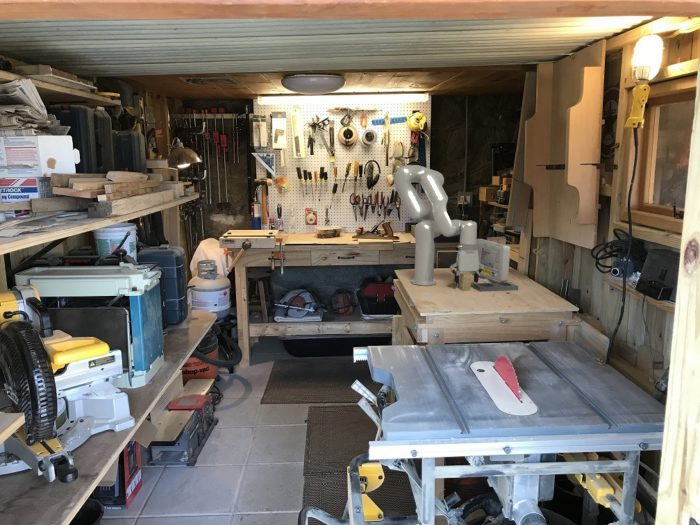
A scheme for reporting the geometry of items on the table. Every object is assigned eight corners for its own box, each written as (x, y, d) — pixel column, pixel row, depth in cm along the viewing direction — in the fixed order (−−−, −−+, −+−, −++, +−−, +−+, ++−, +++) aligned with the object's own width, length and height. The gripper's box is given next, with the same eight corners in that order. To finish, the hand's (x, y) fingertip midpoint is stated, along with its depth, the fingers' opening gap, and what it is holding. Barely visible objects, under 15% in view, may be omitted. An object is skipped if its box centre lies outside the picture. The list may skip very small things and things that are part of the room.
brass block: (459, 289, 264) (460, 272, 262) (466, 288, 265) (467, 272, 263) (462, 291, 260) (463, 274, 258) (470, 290, 261) (471, 274, 259)
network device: (510, 285, 273) (514, 246, 269) (496, 286, 270) (499, 246, 266) (480, 274, 297) (483, 238, 293) (467, 275, 293) (469, 238, 289)
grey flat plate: (472, 287, 268) (472, 283, 267) (509, 286, 272) (510, 282, 272) (479, 291, 260) (480, 287, 260) (517, 290, 264) (518, 286, 264)
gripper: (453, 249, 253) (452, 285, 256) (488, 248, 257) (486, 283, 260) (447, 246, 260) (446, 282, 263) (481, 245, 264) (479, 280, 267)
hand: (466, 282), depth 261 cm, fingers open, 9 cm apart
